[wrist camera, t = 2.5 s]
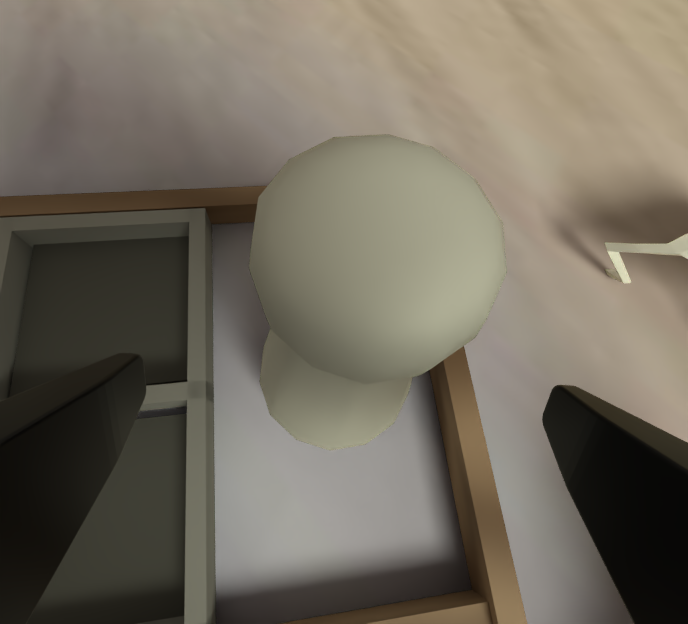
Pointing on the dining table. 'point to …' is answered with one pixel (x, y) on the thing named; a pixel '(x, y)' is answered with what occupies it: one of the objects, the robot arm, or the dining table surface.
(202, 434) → the trap pits
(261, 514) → the dining table surface
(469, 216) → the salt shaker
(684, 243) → the origami figure
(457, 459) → the wooden frame
